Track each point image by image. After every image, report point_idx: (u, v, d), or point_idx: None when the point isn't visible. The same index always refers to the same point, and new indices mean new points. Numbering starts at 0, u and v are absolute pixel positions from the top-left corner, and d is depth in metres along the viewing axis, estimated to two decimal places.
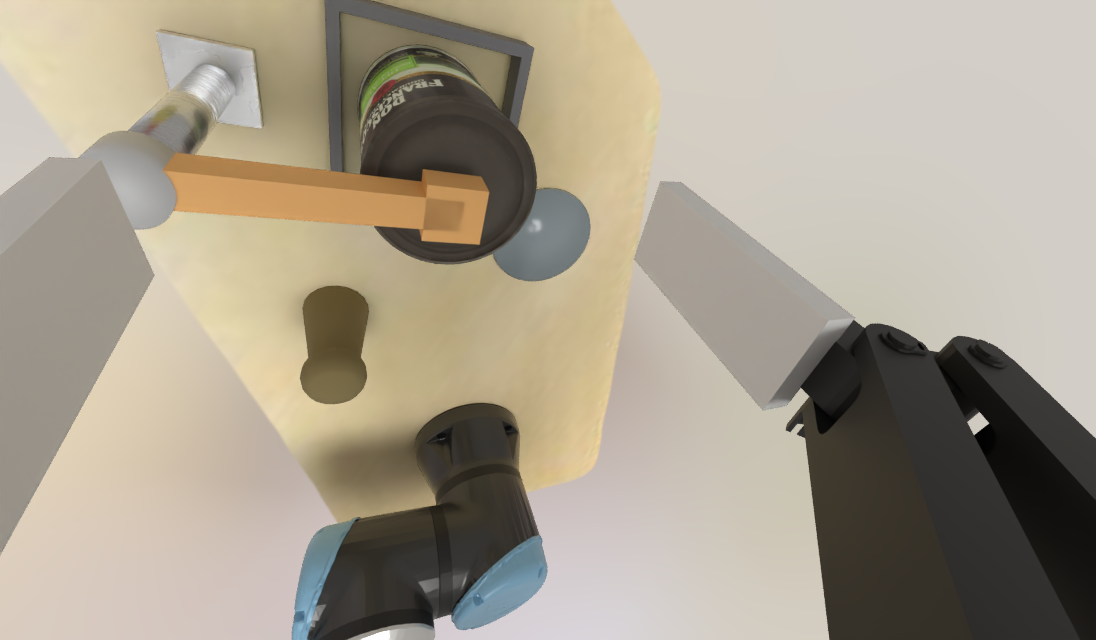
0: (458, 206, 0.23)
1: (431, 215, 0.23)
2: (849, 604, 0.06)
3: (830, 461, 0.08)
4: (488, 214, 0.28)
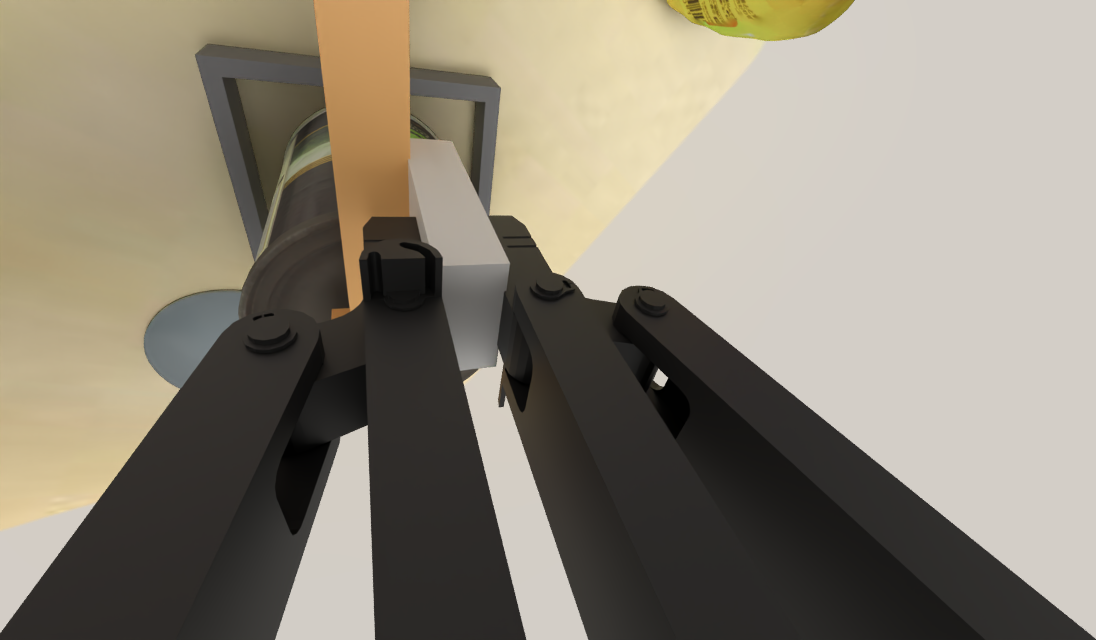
0: None
1: None
2: (595, 615, 0.06)
3: (536, 444, 0.07)
4: None
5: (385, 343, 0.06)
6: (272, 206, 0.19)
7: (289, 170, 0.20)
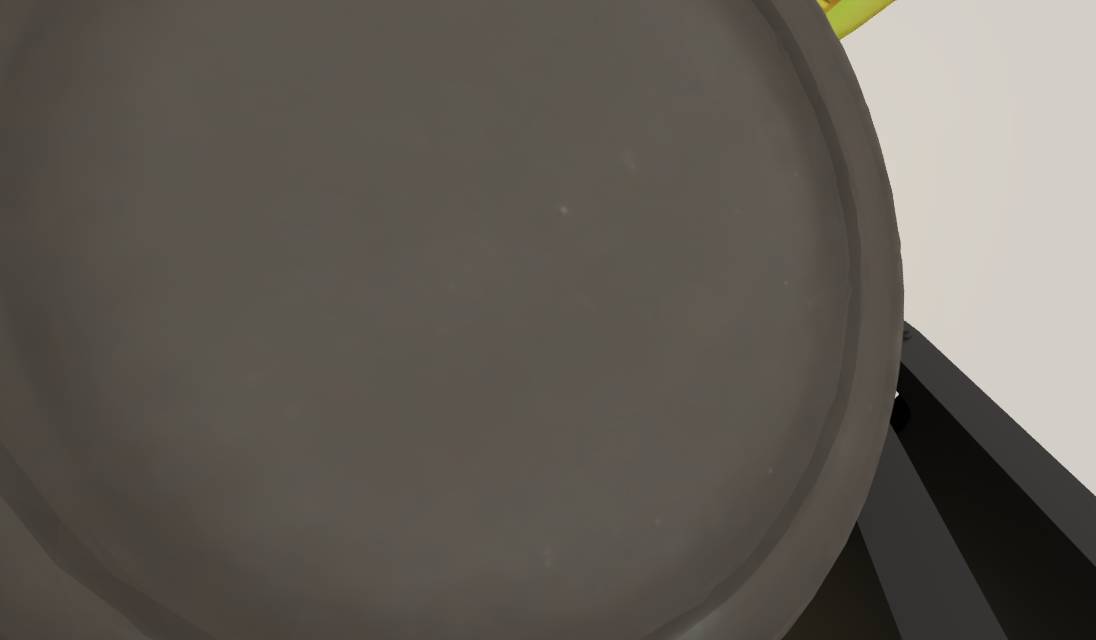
0: None
1: None
2: None
3: None
4: (434, 485, 0.04)
5: None
6: None
7: None
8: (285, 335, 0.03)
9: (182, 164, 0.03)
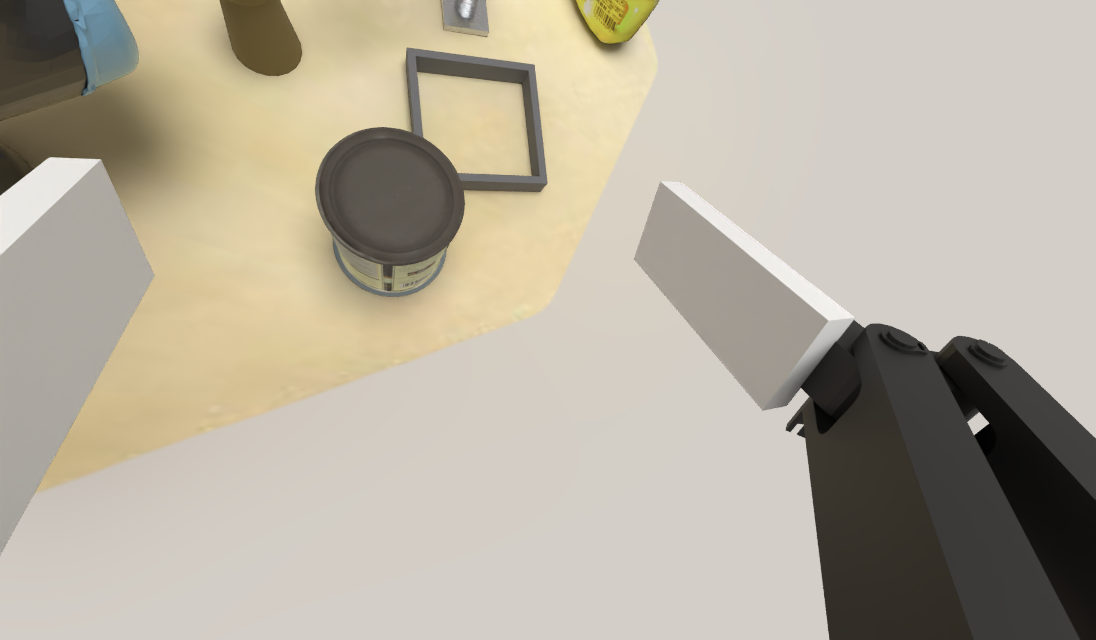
0: None
1: None
2: (849, 604, 0.06)
3: (831, 461, 0.08)
4: (378, 227, 0.32)
5: None
6: None
7: None
8: (361, 208, 0.31)
9: (350, 189, 0.31)
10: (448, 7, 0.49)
